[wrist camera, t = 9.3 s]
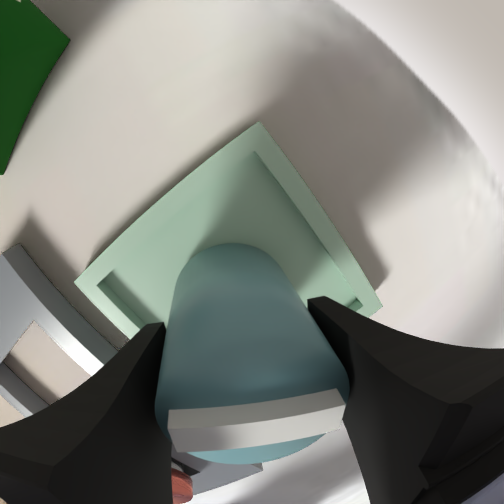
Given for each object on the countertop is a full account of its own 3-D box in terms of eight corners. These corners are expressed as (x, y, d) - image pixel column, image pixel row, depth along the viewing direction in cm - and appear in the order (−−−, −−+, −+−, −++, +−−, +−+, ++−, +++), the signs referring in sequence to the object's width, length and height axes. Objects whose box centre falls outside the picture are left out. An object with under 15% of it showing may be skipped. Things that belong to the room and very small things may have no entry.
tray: (372, 295, 14) (382, 306, 13) (220, 398, 16) (221, 413, 14) (255, 123, 11) (259, 120, 10) (83, 271, 12) (73, 282, 11)
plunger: (204, 457, 17) (205, 496, 14) (166, 472, 18) (164, 507, 14) (161, 432, 16) (156, 474, 13) (125, 448, 16) (118, 486, 13)
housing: (259, 452, 18) (263, 470, 16) (166, 488, 19) (165, 502, 17) (19, 243, 11) (1, 253, 10) (-33, 333, 13) (-44, 345, 11)
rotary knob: (288, 238, 12) (375, 335, 5) (287, 338, 14) (341, 461, 7) (166, 248, 11) (125, 365, 5) (183, 349, 13) (177, 484, 6)
